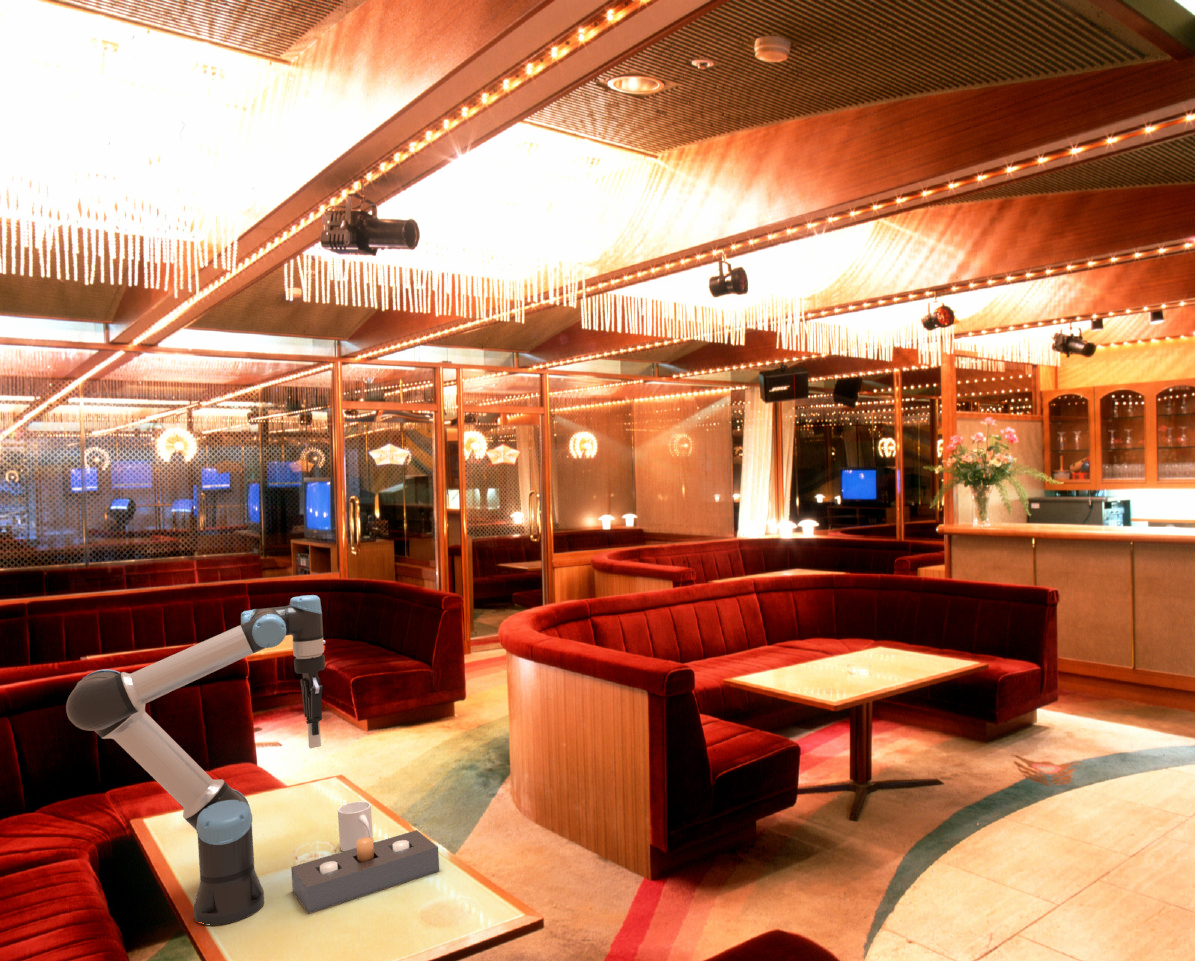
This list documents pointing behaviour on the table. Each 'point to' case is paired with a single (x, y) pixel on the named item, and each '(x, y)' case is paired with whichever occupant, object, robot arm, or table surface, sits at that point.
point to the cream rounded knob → (400, 845)
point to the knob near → (328, 867)
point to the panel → (363, 872)
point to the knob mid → (365, 849)
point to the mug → (354, 823)
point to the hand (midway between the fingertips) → (315, 746)
